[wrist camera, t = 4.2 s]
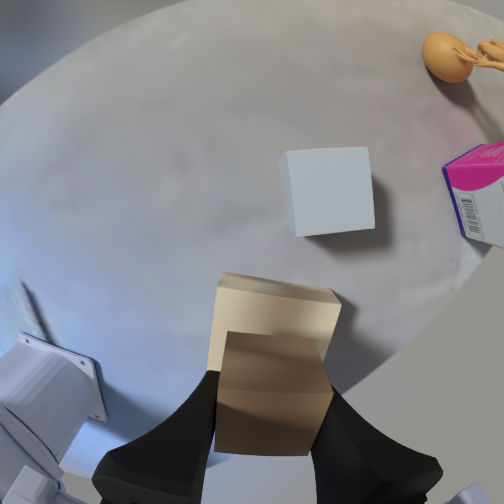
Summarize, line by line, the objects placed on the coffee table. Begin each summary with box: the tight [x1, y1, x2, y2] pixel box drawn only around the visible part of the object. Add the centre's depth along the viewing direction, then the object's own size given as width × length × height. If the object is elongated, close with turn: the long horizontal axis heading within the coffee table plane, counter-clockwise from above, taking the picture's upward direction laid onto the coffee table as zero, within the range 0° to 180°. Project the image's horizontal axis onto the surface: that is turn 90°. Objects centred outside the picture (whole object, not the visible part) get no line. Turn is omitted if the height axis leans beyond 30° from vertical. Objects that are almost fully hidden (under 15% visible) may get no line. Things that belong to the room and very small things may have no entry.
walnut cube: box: [214, 331, 334, 456], centre depth 11 cm, size 4×4×4 cm
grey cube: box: [279, 147, 375, 237], centre depth 14 cm, size 4×4×4 cm
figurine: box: [422, 32, 504, 83], centre depth 8 cm, size 8×6×12 cm
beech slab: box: [207, 272, 342, 371], centre depth 17 cm, size 7×7×3 cm
